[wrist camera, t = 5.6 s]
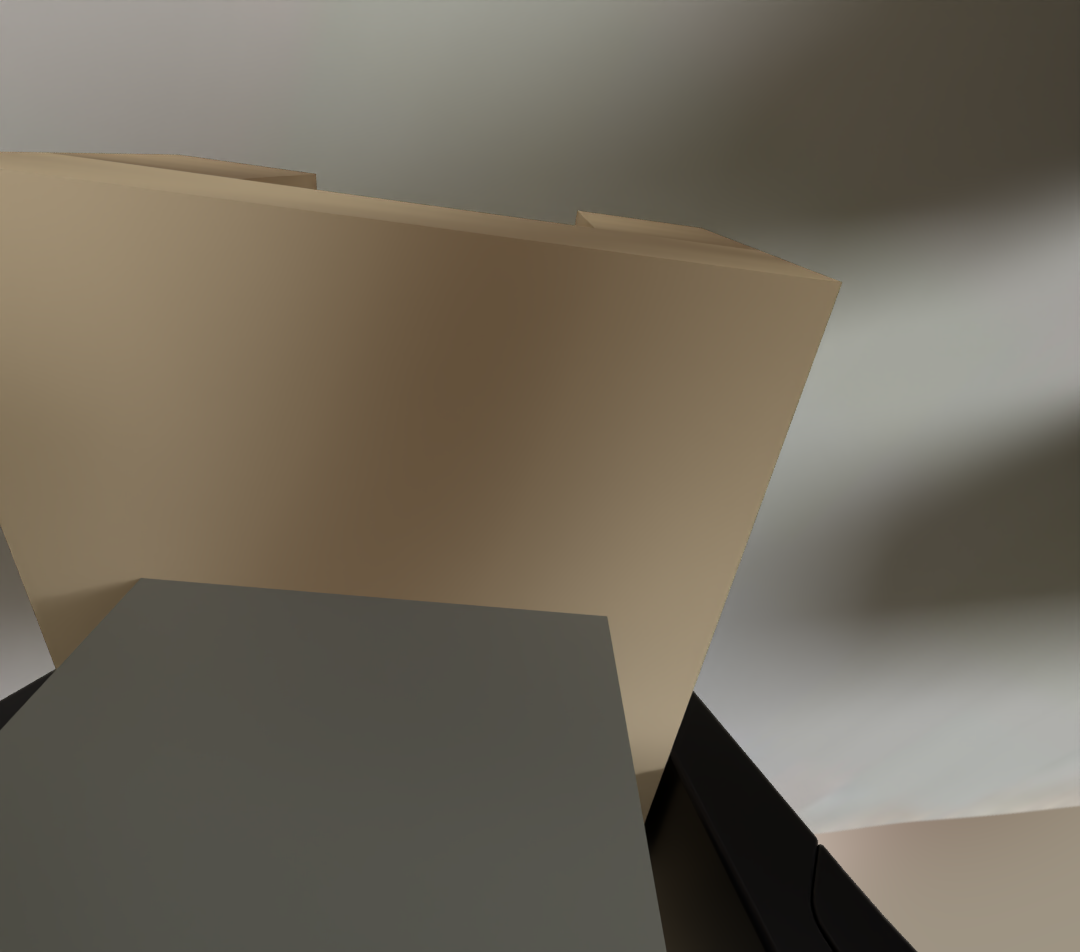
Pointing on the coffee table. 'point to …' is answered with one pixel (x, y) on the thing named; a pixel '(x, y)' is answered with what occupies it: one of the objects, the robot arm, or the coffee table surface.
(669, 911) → the robot arm
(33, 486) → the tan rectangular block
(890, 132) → the coffee table surface
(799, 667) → the coffee table surface
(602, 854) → the gray rectangular block
